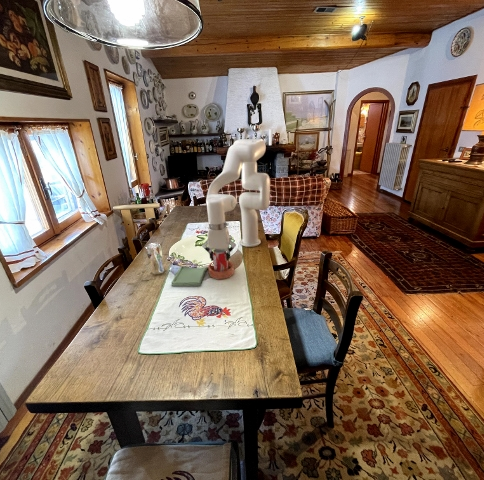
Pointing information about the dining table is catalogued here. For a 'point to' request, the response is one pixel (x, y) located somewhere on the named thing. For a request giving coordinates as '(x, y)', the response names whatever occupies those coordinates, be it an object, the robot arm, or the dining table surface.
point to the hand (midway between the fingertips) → (220, 259)
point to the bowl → (221, 274)
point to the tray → (188, 276)
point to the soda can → (220, 260)
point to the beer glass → (155, 258)
